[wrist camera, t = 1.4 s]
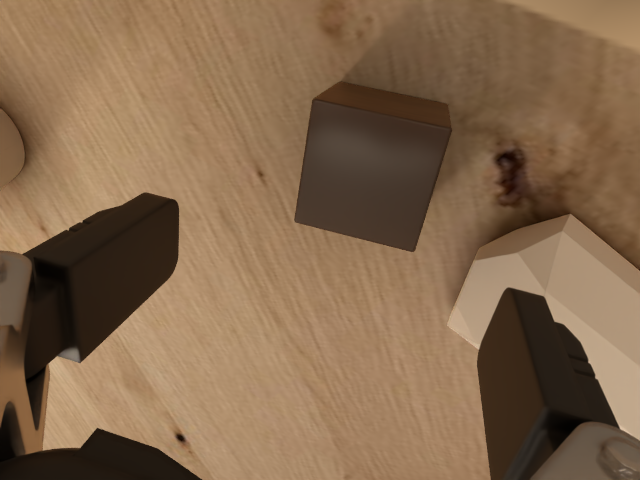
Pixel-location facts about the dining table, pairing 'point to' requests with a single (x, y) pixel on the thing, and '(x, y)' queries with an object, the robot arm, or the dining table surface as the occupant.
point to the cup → (9, 150)
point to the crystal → (566, 300)
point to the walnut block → (371, 163)
